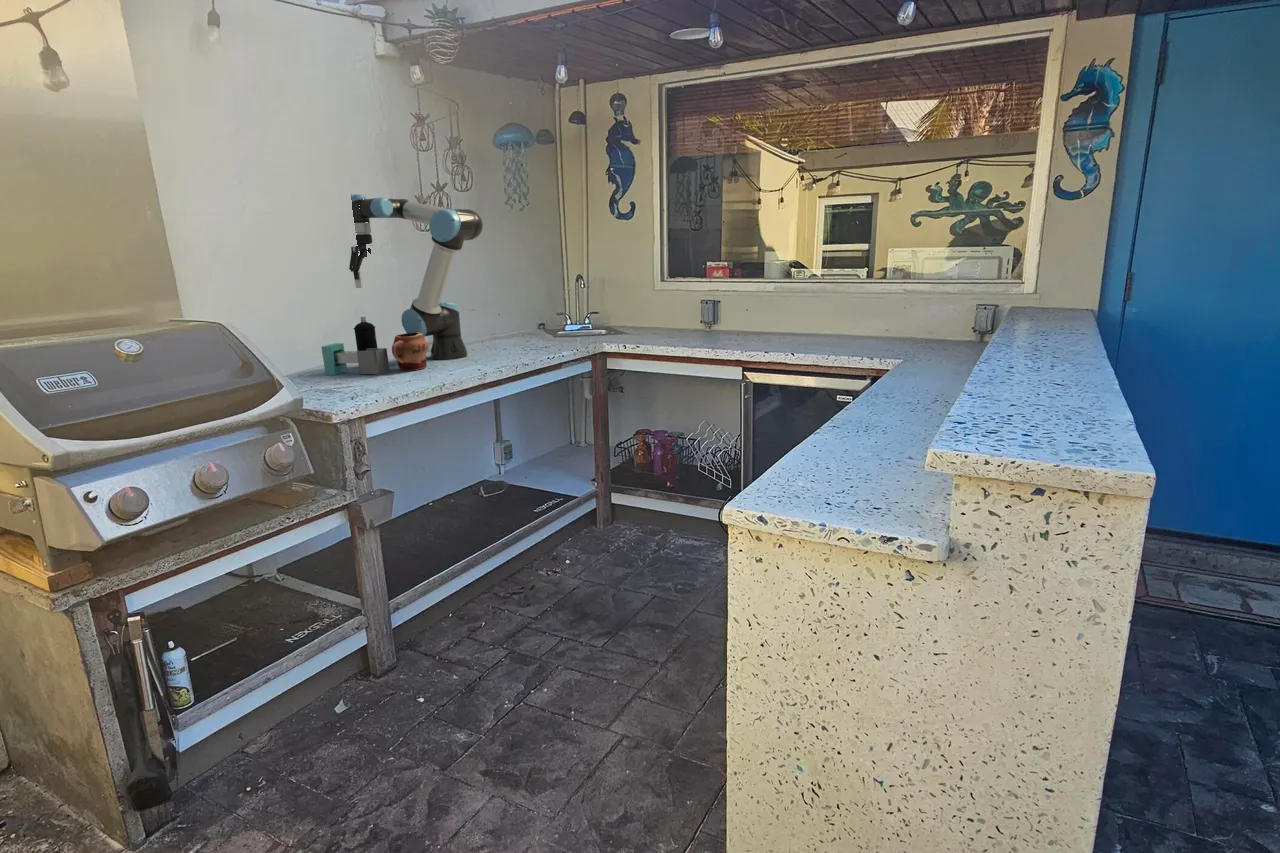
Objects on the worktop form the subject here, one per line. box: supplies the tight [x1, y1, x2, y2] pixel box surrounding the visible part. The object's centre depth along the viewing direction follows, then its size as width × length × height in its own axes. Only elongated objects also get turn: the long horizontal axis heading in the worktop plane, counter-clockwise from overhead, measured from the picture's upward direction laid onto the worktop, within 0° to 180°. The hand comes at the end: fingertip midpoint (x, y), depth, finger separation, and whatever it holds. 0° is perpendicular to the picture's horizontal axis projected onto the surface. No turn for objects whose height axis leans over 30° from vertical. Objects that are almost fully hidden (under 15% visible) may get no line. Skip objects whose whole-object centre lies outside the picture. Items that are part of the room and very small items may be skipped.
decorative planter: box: [391, 332, 430, 372], centre depth 281 cm, size 20×12×14 cm, turn 167°
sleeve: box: [356, 347, 390, 376], centre depth 277 cm, size 8×7×9 cm
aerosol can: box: [353, 316, 378, 351], centre depth 292 cm, size 8×8×20 cm
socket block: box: [321, 342, 348, 376], centre depth 280 cm, size 4×8×11 cm, turn 168°
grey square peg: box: [333, 350, 358, 364], centre depth 279 cm, size 14×5×5 cm, turn 78°
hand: (368, 286), depth 303 cm, fingers open, 13 cm apart
